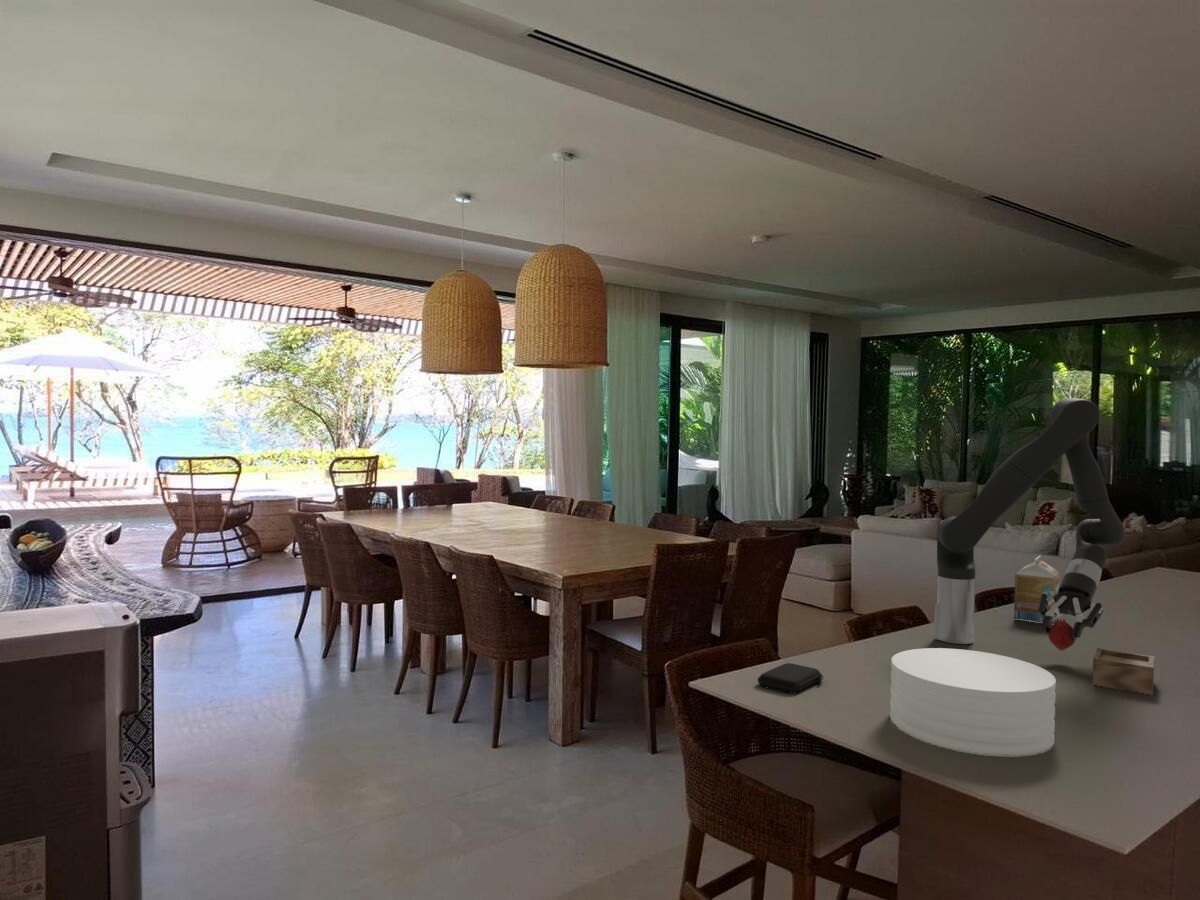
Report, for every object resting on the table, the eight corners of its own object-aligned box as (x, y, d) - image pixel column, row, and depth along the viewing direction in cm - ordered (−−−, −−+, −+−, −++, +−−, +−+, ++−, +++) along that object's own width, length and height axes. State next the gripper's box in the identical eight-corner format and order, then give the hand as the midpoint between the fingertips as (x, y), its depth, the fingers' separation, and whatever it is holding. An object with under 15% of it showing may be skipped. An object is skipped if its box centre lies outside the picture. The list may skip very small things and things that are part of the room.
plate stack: (976, 768, 132) (978, 700, 132) (858, 713, 158) (860, 655, 157) (1090, 744, 143) (1091, 681, 143) (962, 696, 169) (964, 642, 169)
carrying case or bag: (799, 699, 166) (829, 682, 177) (799, 684, 166) (830, 669, 177) (753, 687, 173) (786, 673, 184) (754, 673, 173) (786, 660, 184)
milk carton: (1019, 614, 249) (1021, 553, 249) (1058, 619, 243) (1060, 557, 243) (1014, 620, 241) (1015, 557, 240) (1054, 625, 235) (1055, 561, 234)
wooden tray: (1092, 685, 178) (1093, 658, 177) (1096, 673, 186) (1097, 648, 186) (1152, 695, 171) (1153, 667, 171) (1153, 682, 180) (1154, 656, 180)
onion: (1078, 654, 192) (1080, 621, 192) (1052, 652, 193) (1054, 620, 193) (1069, 648, 198) (1071, 616, 198) (1044, 646, 199) (1045, 614, 199)
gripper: (1046, 567, 205) (1024, 619, 198) (1109, 576, 194) (1088, 631, 187) (1054, 585, 209) (1032, 637, 202) (1116, 595, 198) (1095, 650, 190)
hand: (1059, 634), depth 194 cm, fingers closed on onion, 5 cm apart
